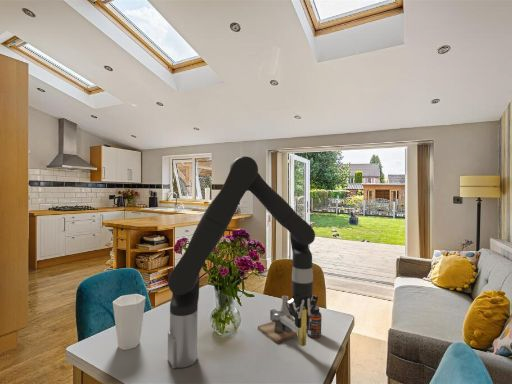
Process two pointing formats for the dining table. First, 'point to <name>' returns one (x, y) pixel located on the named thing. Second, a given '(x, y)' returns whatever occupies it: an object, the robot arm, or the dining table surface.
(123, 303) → the cup
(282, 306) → the flask
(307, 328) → the supplement bottle
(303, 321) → the lever
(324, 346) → the dining table surface
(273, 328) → the base
